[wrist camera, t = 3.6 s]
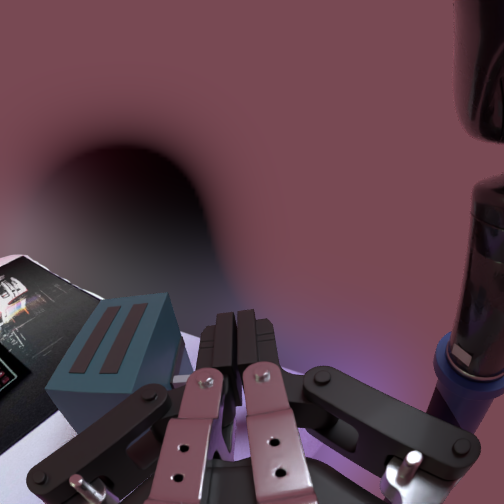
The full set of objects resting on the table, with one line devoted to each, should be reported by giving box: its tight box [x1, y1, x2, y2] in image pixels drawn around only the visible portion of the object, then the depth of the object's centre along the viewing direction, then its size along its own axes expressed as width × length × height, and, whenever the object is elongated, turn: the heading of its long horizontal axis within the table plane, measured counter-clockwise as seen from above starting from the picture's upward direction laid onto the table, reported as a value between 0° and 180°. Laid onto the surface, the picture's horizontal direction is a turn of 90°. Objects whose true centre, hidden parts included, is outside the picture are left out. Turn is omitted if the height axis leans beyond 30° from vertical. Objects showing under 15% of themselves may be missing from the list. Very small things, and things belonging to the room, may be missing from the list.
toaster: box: [45, 292, 194, 475], centre depth 27 cm, size 8×14×12 cm, turn 2°
